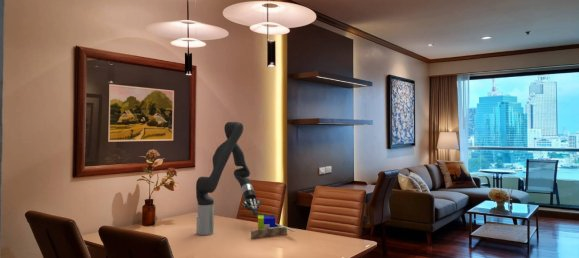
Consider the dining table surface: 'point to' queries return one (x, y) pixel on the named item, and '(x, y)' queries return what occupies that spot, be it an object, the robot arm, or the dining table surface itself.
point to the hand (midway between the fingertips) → (256, 214)
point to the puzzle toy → (266, 221)
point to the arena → (270, 232)
